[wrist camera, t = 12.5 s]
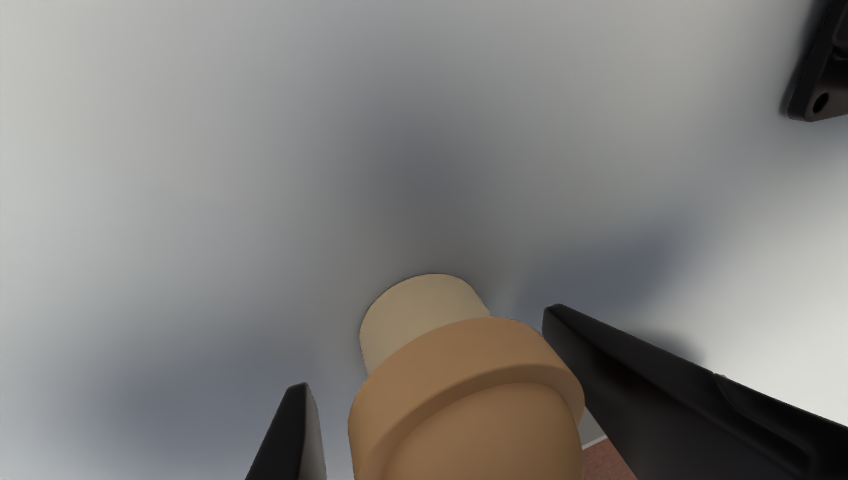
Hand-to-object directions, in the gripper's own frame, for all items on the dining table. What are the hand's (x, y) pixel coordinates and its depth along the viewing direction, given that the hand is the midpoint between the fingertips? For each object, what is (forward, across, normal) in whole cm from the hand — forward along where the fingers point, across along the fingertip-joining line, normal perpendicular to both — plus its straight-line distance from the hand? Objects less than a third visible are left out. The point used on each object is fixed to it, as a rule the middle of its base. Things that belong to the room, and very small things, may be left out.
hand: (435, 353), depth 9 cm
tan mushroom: (+1, 0, 0) cm, 1 cm away
